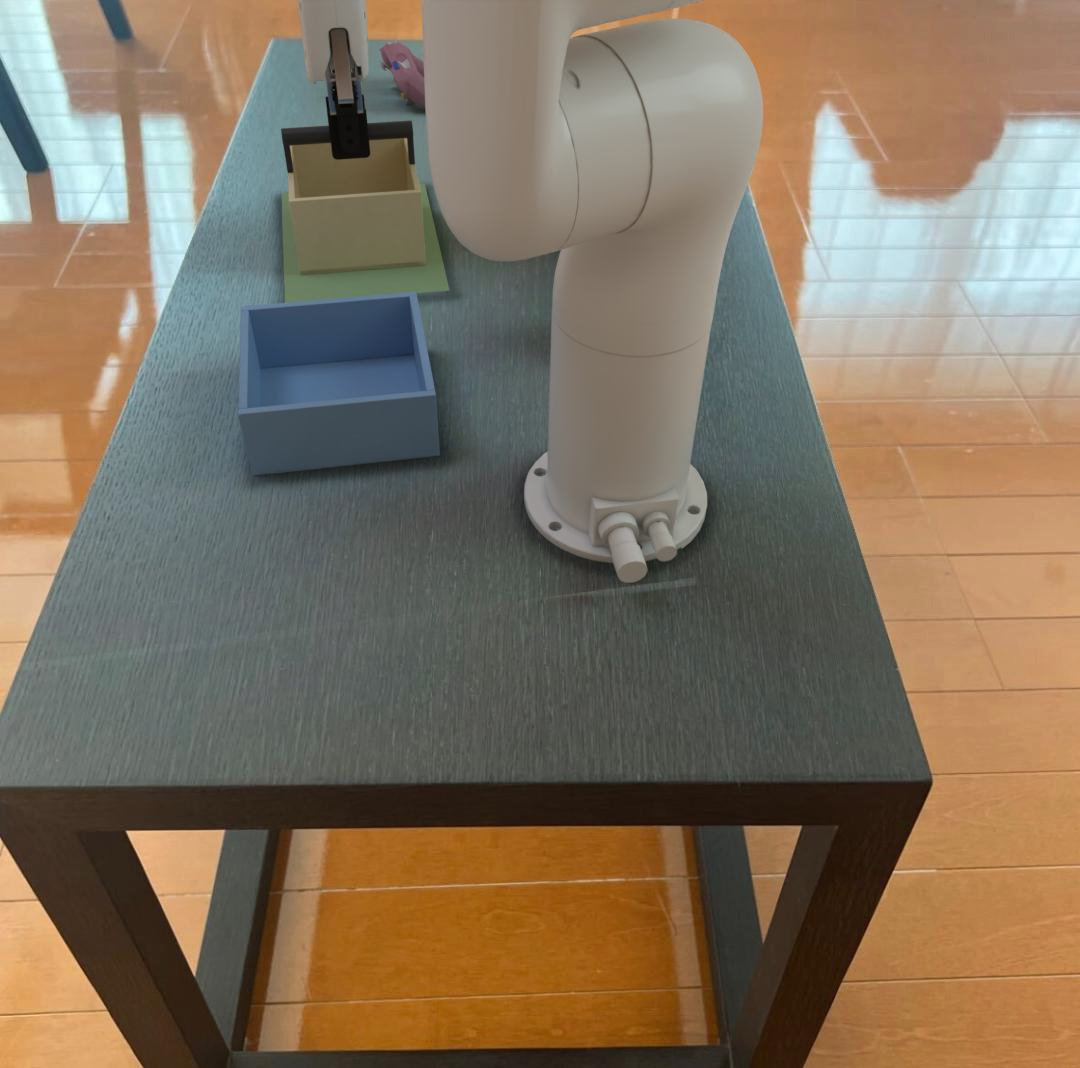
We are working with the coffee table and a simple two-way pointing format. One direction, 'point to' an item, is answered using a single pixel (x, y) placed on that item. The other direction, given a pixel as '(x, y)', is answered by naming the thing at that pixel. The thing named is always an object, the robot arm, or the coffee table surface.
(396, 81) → the pink curved piece
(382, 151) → the cream bin
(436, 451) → the blue bin
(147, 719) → the coffee table surface
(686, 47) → the robot arm
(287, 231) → the mat
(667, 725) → the coffee table surface
